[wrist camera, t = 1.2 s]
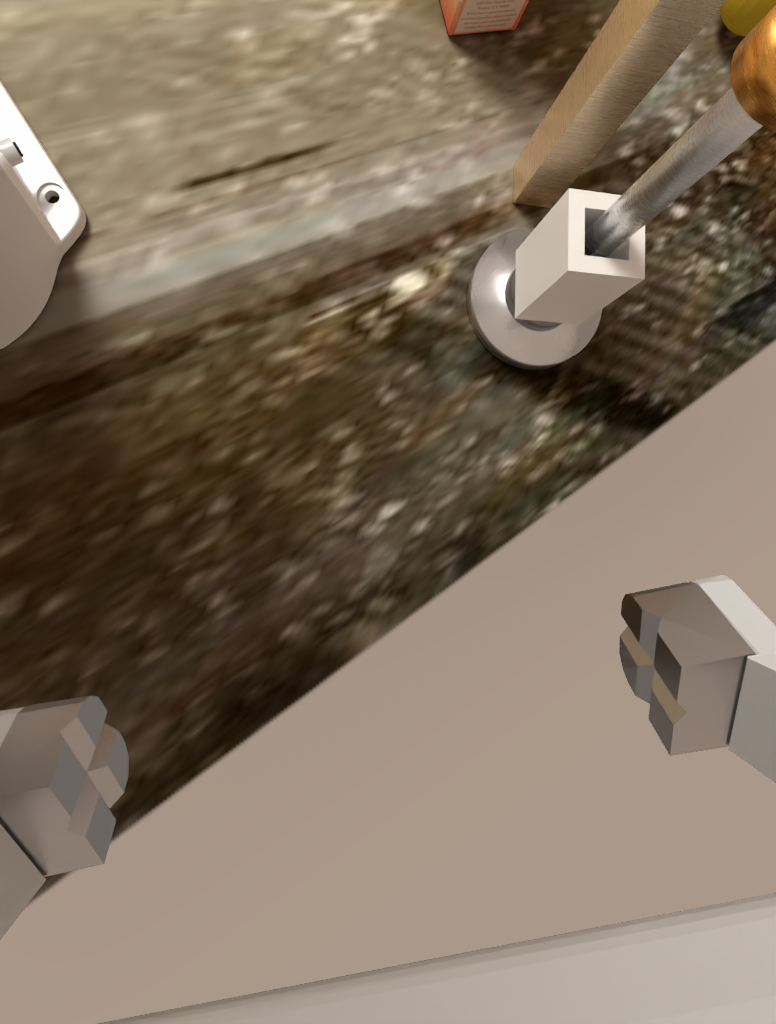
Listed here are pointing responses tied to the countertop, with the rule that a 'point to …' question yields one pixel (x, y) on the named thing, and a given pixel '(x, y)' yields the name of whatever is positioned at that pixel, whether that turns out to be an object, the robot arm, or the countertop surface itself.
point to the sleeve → (573, 263)
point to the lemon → (744, 14)
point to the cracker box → (481, 15)
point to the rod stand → (583, 132)
